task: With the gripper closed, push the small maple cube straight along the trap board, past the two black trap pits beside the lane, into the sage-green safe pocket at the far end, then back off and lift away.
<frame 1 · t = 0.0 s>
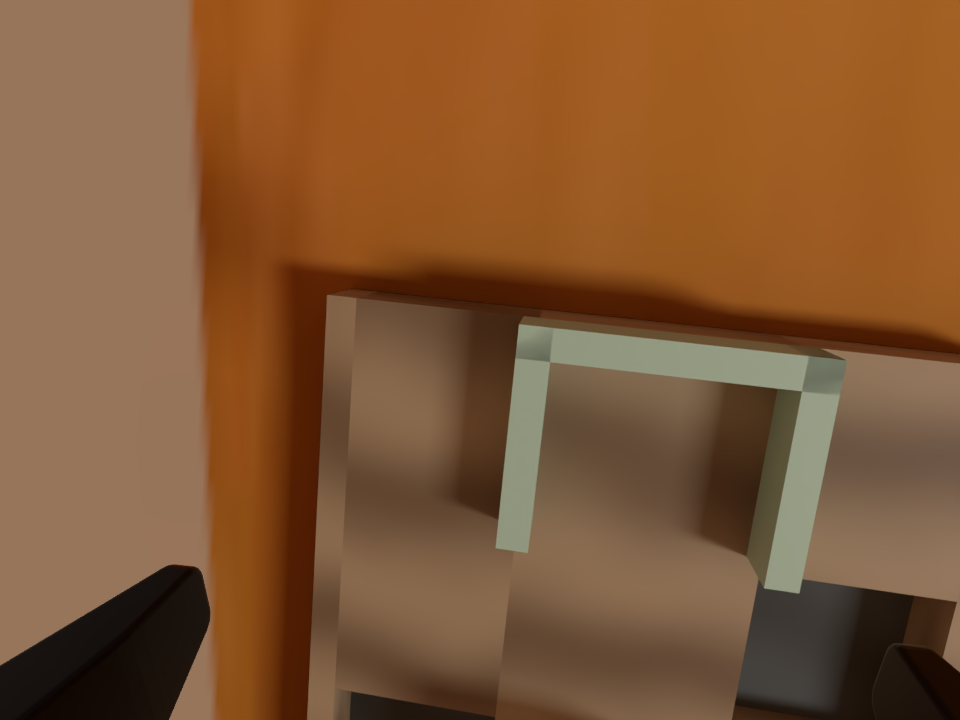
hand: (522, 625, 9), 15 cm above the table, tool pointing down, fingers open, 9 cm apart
safe pocket: (641, 431, 24), resting on trap board
trap board: (612, 632, 25), on the table
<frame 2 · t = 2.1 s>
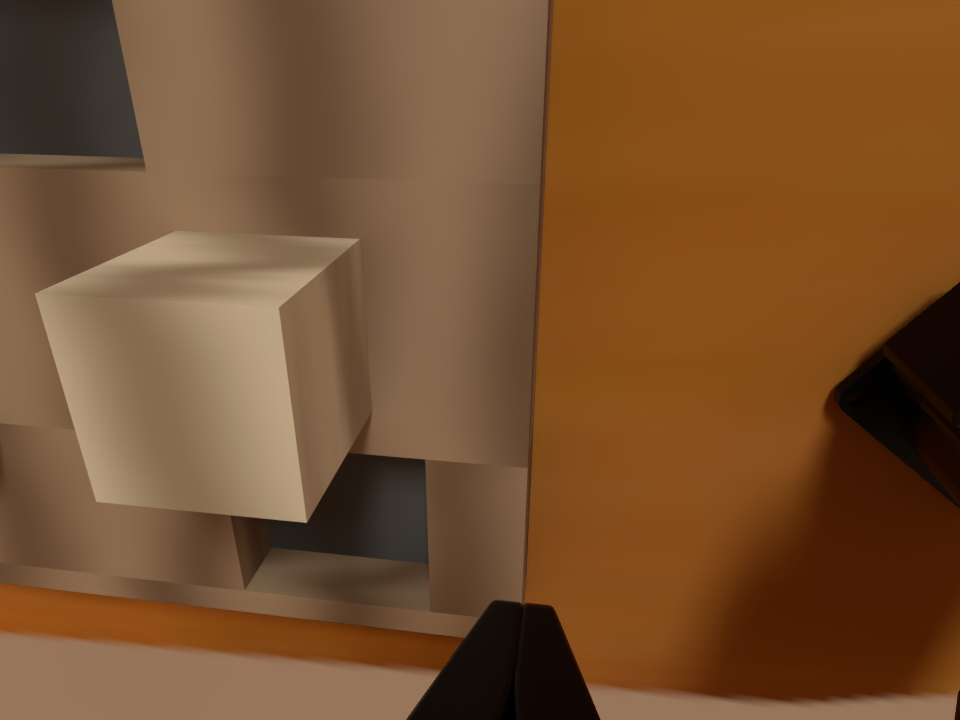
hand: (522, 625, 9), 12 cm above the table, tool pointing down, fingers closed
maple block: (278, 324, 18), point 2 cm above the table, touching trap board
trap board: (160, 286, 21), on the table
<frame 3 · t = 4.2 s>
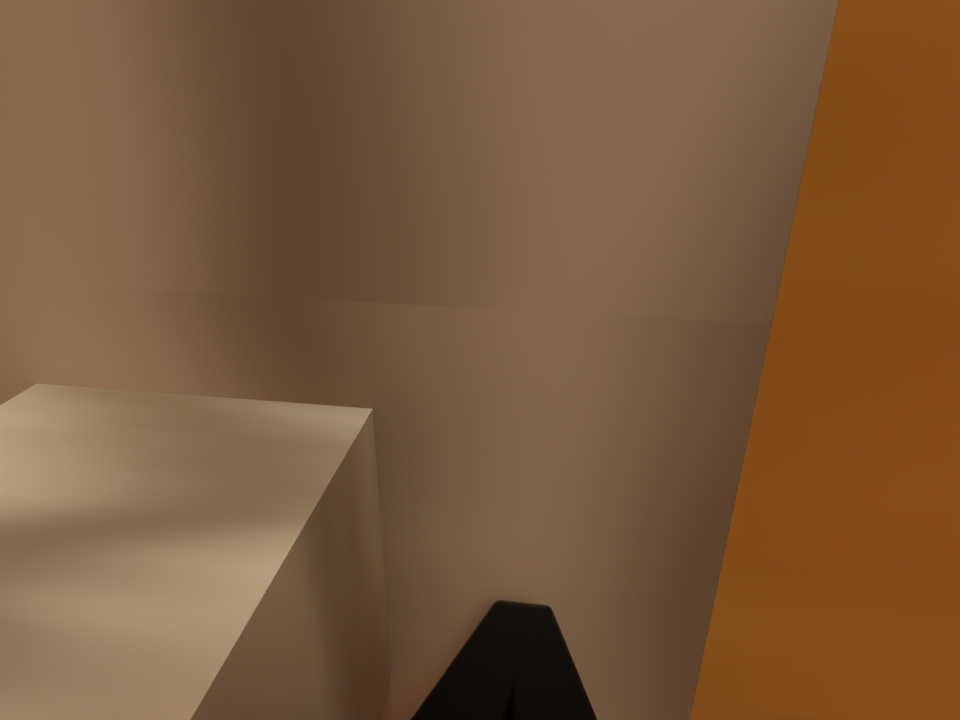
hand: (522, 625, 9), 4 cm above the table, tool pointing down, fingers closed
maple block: (227, 537, 10), point 2 cm above the table, touching gripper, trap board
trap board: (66, 430, 13), on the table
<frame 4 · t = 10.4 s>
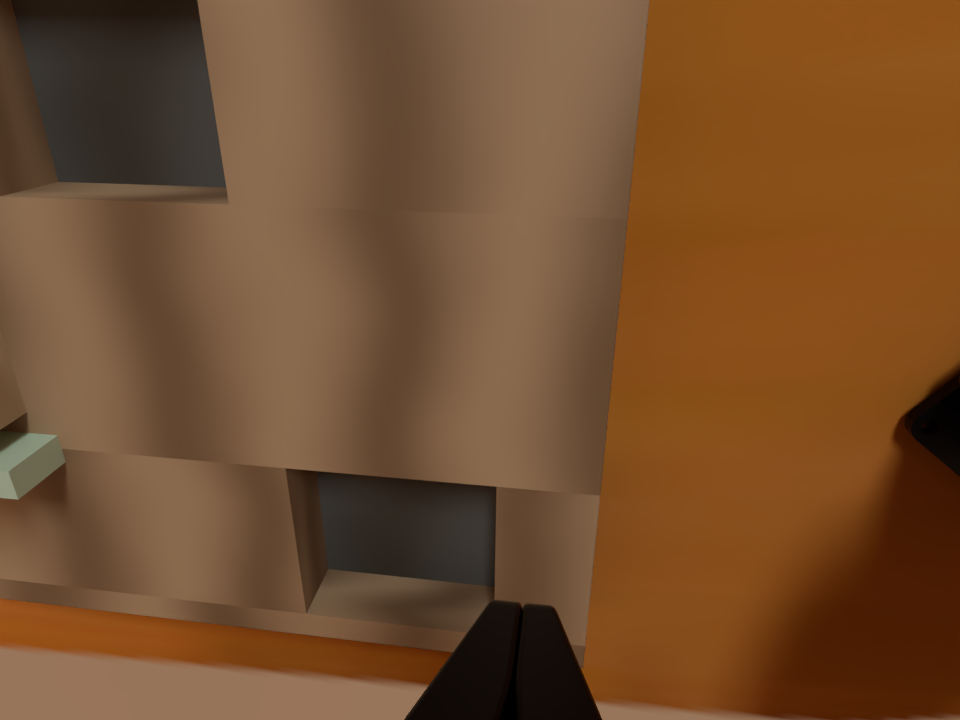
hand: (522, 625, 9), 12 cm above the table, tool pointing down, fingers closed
safe pocket: (0, 299, 22), resting on trap board
trap board: (227, 312, 21), on the table
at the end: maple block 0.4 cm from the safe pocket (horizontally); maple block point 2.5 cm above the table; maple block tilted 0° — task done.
